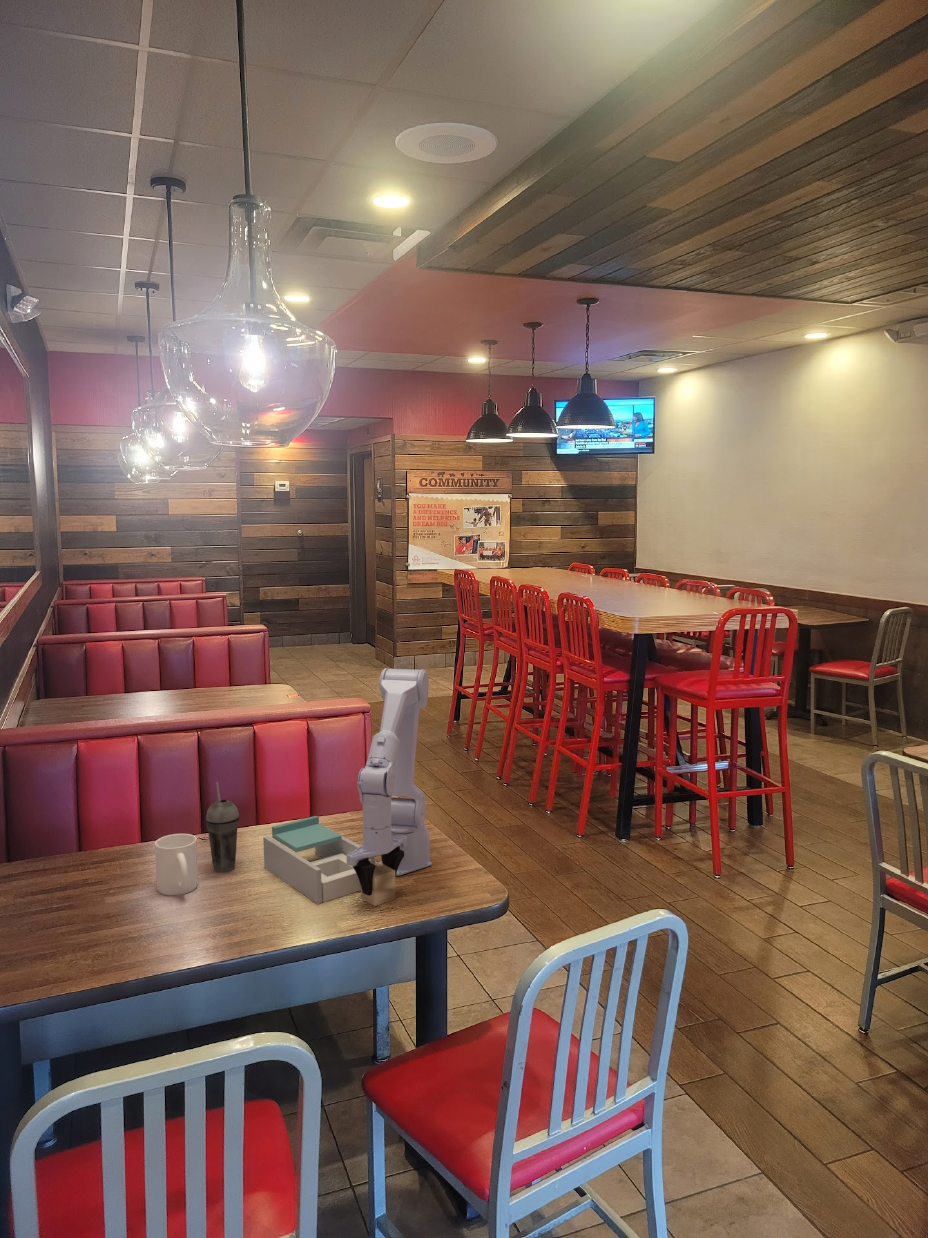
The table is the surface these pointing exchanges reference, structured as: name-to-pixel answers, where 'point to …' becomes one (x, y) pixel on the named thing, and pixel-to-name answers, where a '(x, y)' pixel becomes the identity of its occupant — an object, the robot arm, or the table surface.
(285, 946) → the table surface
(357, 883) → the housing
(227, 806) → the beverage cup
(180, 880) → the mug
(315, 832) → the lid
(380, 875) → the peg
